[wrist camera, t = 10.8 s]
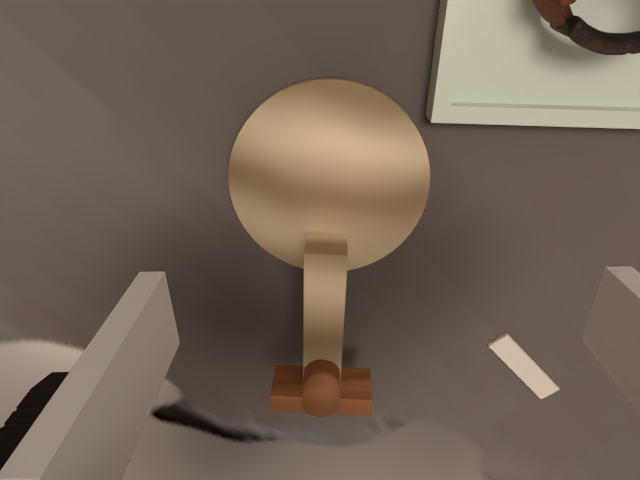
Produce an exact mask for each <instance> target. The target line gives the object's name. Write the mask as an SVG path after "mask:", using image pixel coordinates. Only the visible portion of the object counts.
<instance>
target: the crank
mask: <svg viewBox="0 0 640 480" xmlns="http://www.w3.org/2000/svg"><path fill="white" fill-rule="evenodd" d="M228 174H229V189H230V196H231V199H232V203H233V206H234V209H235V211H236V213H237V216H238V218H239V220H240V221H241V223H242V225H243V226H244V228H245V229H246V231H247V232H248V233H249V235H250V236H251V237H252V238H253V239H254V240H255V241H256V242H257V243H258V244H259V245H260V246H261V247H262V248H263V249H265V250H266V251H267V252H268V253H270V254H271V255H273V256H275V257H276V258H278V259H280V260H281V261H284V262H286V263H288V264H290V265H293V266H296V267H299V268H302V269H304V323H303V366H293V365H276V366H275V371H274V377H273V383H272V389H271V394H270V402H271V411H277V412H300V413H309V414H311V415H313V416H318V417H325V416H330V415H332V414H346V415H369V416H371V408H372V390H371V379H370V369H366V368H341V364H342V347H343V330H344V313H345V296H346V280H347V271H348V270H352V269H356V268H361V267H363V266H366V265H369V264H371V263H373V262H375V261H377V260H379V259H381V258H383V257H385V256H386V255H388V254H389V253H391V252H392V251H393V250H394V249H396V248H397V247H398V246H399V245H400V244H401V243H402V242H403V241H404V240H405V239H406V238H407V237H408V236H409V235H410V233H411V232H412V230H413V229H414V228H415V226H416V225H417V223H418V221H419V219H420V217H421V215H422V213H423V211H424V208H425V205H426V202H427V198H428V193H429V187H430V166H429V160H428V155H427V151H426V148H425V145H424V143H423V140H422V138H421V136H420V134H419V132H418V130H417V128H416V127H415V125H414V124H413V122H412V121H411V119H410V118H409V117H408V115H407V114H406V113H405V111H404V110H403V109H402V108H401V107H400V106H399V105H398V104H397V103H396V102H395V101H394V100H392V99H391V98H390V97H389V96H387V95H386V94H385V93H383V92H381V91H380V90H378V89H376V88H374V87H372V86H370V85H367V84H365V83H362V82H360V81H356V80H352V79H348V78H340V77H318V78H312V79H307V80H303V81H300V82H297V83H294V84H291V85H289V86H287V87H285V88H283V89H281V90H279V91H278V92H276V93H275V94H273V95H272V96H270V97H269V98H268V99H266V100H265V101H264V102H263V103H262V104H261V105H260V106H259V107H258V108H257V109H256V110H255V112H254V113H253V114H252V115H251V116H250V118H249V119H248V120H247V121H246V123H245V124H244V126H243V127H242V129H241V131H240V132H239V134H238V136H237V139H236V141H235V143H234V146H233V149H232V153H231V157H230V163H229V170H228Z"/></svg>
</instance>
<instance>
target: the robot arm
mask: <svg viewBox="0 0 640 480" xmlns="http://www.w3.org/2000/svg"><path fill="white" fill-rule="evenodd" d="M582 341H583V342H584V343H585V345H586V346H587V347H588V348H589V350H590V351H591V352H592V354H593V355H594V356H595V357H596V359H597V360H598V361H599V363H600V364H601V365H602V366H603V368H604V369H605V370H606V372H607V373H608V374H609V375H610V377H611V378H612V379H613V381H614V382H615V383H616V384H617V386H618V387H619V388H620V390H621V391H622V392H623V394H624V395H625V396H626V397H627V399H628V400H629V401H630V403H631V404H632V405H633V406H634V408H635V409H636V410H637V412H638V413H639V414H640V273H639V272H637V271H636V270H635V269H634V268H633V267H605V270H604V273H603V277H602V280H601V283H600V286H599V289H598V292H597V295H596V298H595V301H594V304H593V307H592V310H591V313H590V316H589V319H588V322H587V325H586V328H585V331H584V335H583V338H582ZM179 344H180V341H179V336H178V331H177V327H176V322H175V317H174V312H173V308H172V303H171V298H170V293H169V289H168V284H167V279H166V274H165V272H139V273H138V275H137V276H136V278H135V279H134V281H133V282H132V283H131V285H130V286H129V288H128V289H127V291H126V292H125V293H124V295H123V296H122V298H121V299H120V301H119V302H118V303H117V305H116V306H115V308H114V309H113V311H112V312H111V313H110V315H109V316H108V318H107V319H106V321H105V322H104V323H103V325H102V326H101V328H100V329H99V331H98V332H97V333H96V335H95V336H94V338H93V339H92V341H91V342H90V343H89V345H88V346H87V348H86V349H85V351H84V352H83V353H82V355H81V356H80V358H79V359H78V361H77V362H76V363H75V365H74V367H73V368H72V369H71V371H70V372H52V373H51V374H49V375H48V376H47V377H45V378H44V379H43V380H42V381H40V382H39V383H38V384H36V385H35V386H34V387H33V388H31V389H30V391H29V392H28V393H27V395H26V396H25V397H24V398H23V400H22V401H21V402H20V404H19V405H18V406H17V410H16V411H14V412H13V413H12V414H11V415H10V417H9V418H8V419H7V421H6V422H5V425H4V427H1V428H0V480H121V478H122V476H123V474H124V472H125V469H126V467H127V465H128V462H129V460H130V458H131V455H132V453H133V451H134V448H135V446H136V444H137V441H138V439H139V437H140V434H141V432H142V430H143V427H144V425H145V423H146V420H147V418H148V416H149V414H150V411H151V409H152V407H153V404H154V402H155V399H156V397H157V395H158V393H159V390H160V388H161V386H162V383H163V381H164V379H165V376H166V374H167V372H168V369H169V367H170V365H171V362H172V360H173V358H174V356H175V353H176V351H177V349H178V346H179Z"/></svg>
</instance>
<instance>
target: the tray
mask: <svg viewBox="0 0 640 480" xmlns="http://www.w3.org/2000/svg"><path fill="white" fill-rule="evenodd" d="M570 7H571V10H572V13H573V15H575V16H579V17H581V18H582V19H583V20H584V21H585V22H586V23H587V24H589V25H590V26H592V27H594V28H596V29H597V30H600V31H603V32H608V33H630V32H635V31H640V0H576V2H574V3H573V4H570ZM425 116H426V117H427V118H428V120H429V121H430V122H431V123H458V124H491V125H524V126H557V127H590V128H623V129H640V53H637V54H630V53H627V54H625V55H604V54H599V53H595V52H592V51H590V50H588V49H586V48H583V47H581V46H579V45H578V44H576V43H575V42H573V41H572V40H571V39H570V38H569V37H567V36H565V35H563V34H561V33H559V32H557V31H555V30H553V29H552V28H551V27H550V23H548V22H546V21H545V20H544V18H543V17H542V16H541V14H540V13H539V12H538V10H537V8H536V6H535V4H534V2H533V0H440V5H439V13H438V20H437V28H436V36H435V44H434V51H433V59H432V67H431V74H430V82H429V90H428V98H427V105H426V113H425Z"/></svg>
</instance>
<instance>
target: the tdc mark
mask: <svg viewBox="0 0 640 480" xmlns="http://www.w3.org/2000/svg"><path fill="white" fill-rule="evenodd" d="M488 346H489V347H490V348H491V349H492V350H493V351H494V352H495V353H496V354H497V355H498V356H499V357H500V358H501V359H502V360H503V361H504V362H505V363H506V364H507V365H508V366H509V367H510V368H511V369H512V371H513V372H514V373H515V374H516V375H517V376H518V377H519V378H520V379H521V380H522V381H523V382H524V383H525V384H526V385H527V386H528V387H529V388H530V389H531V390H532V391H533V392H534V393H535V394H536V395H537V396H538V397H539V398H540V399H543V398H545V397H547V396H548V395H550V394H552V393H554V392H556V391H558V390H560V389H559V387H558V386H557V385H556V384H555V383H554V382H553V381H552V380H551V379H550V378H549V377H548V376H547V374H546V373H545V372H544V371H543V370H542V369H541V368H540V367H539V366H538V365H537V364H536V363H535V362H534V361H533V360H532V359H531V358H530V357H529V356H528V354H527V353H526V352H525V351H524V350H523V349H522V348H521V347H520V346H519V345H518V344H517V343H516V342H515V341H514V340H513V339H512V338H511V337H510V336H509V335H508V333H505V334H503V335H502V336H500V337H498V338H497V339H495V340H494V341H492V342H490V343H489V344H488Z"/></svg>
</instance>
